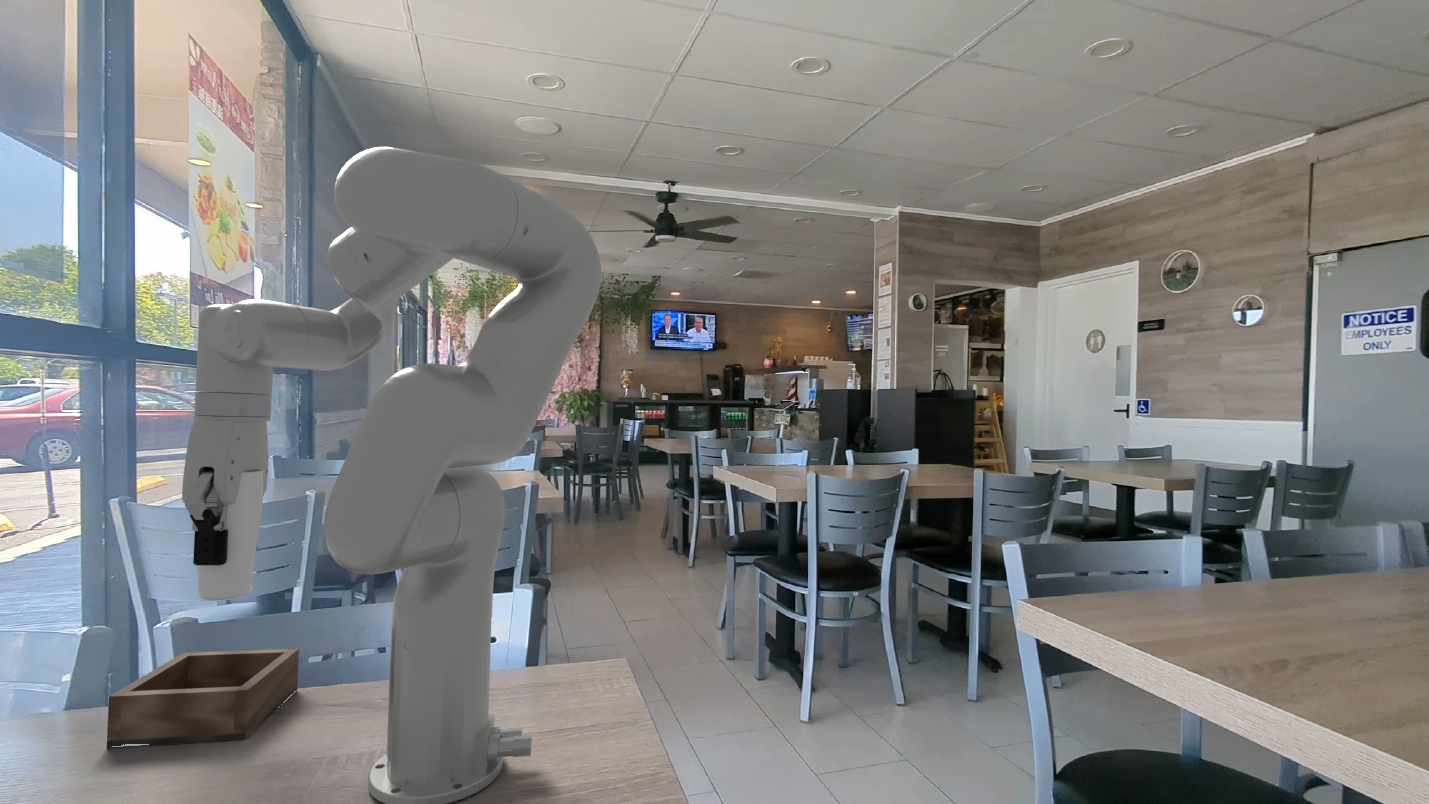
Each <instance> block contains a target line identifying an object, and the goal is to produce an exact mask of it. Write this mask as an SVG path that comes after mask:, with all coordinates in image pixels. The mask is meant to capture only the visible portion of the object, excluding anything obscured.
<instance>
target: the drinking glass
mask: <svg viewBox="0 0 1429 804" xmlns="http://www.w3.org/2000/svg"><path fill="white" fill-rule="evenodd" d="M263 488H264V481H263V470H261V469H260V471H255V472H244V473H242V474H241V480H240V485H239V489H238V494H237V498H236V502H235V503H233V504H231V505H228V508H227V519H226V522H225V526H224V529H223V530H228V544H227V562H226V563H225V564H223V565H196V568H197V571H196V572H197V596H198V598H200V599H202V600H205V601H227V600H231V599H232V600H233V599H238V598H241V597H244V596H247V595H248V594H249V593H251V591H252V589H253V587H254V585H253V584H254V583H253V582H254V569H255V562H256V555H257V550H256V548H257V549H258V542H257V541H258V540H259V533H260V526H261V521H262V520H261V517H262V512H263V504H264V496H263ZM219 499H220V493H217V491H216V489H215V486H214V487H213V488H212V490H211V492H210V494H209V495H208V497H207V499H206V502H221V501H219ZM208 509H211V510H212V511H213V513H214V515H215V516H217V512H218V509H217V508H208Z"/></svg>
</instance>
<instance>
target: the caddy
mask: <svg viewBox="0 0 1429 804" xmlns="http://www.w3.org/2000/svg"><path fill="white" fill-rule="evenodd" d="M299 654H300V648H280V649H279V648H278V649H276V648H275V649H253V650H251V649H250V650H226V651H223V650H221V651H198V652H195V651H194V652H193V651H192V652H181V654H179V655H177V656H175V657H174V658H172V659H170V660H168V661H167V662H165V663H163V664H162V665H160V666H157V668H155V669H153V670H151V671H150V672H148V673H146V674H145V675H143V676H142V677H140V678H138V679H136V680H135V681H133V682H131V683H130V684H128V685H125V687H122V688H121V689H119V690H118V691H116V692H114V693H112V694H110V695H109V696H108V705H107V706H108V709H107V732H106V733H107V734H106V749H109V748H108V747H112V746H121V745H123V744H124V745H125V744H149V745H155V746H167V745H168V746H169V745H170V746H171V745H185V744H188V745H189V744H203V743H218V742H221V743H222V742H223V743H224V742H236V741H237V742H238V741H247V739H249V738H250V737H251V736H252V734H254V733H255V732H256V731H257V730H258V729H259V728H260V727H261V726H262V725H264V724H265V722H266V721H267V720H269V719H270V718H271V717H272V716H273V715H272V714H273V713H274V712H275V711H276V710H277V709H278V707H279V706H281V704H283V702H284V701H285V700H286V699H287V698H288V697H289V696H290V695H291V694H293V693H294V691H296V690H297V691H298V687H299V684H298V683H299V662H300V661H299V660H300V659H299V657H300V656H299ZM283 705H284V704H283ZM281 707H282V706H281ZM278 710H279V709H278ZM278 710H277V711H278ZM277 711H276V712H277ZM276 712H275V713H276ZM275 713H274V714H275ZM271 715H272V716H271ZM270 716H271V717H270Z"/></svg>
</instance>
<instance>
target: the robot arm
mask: <svg viewBox="0 0 1429 804" xmlns="http://www.w3.org/2000/svg"><path fill="white" fill-rule="evenodd" d="M333 192H334V193H333V198H334V199H333V200H334V205H335V208H336V211H337V213H338V215H339V216H340V218H341V219H342V221H343V222H344V223H345V224H346V225H347V226H349V228H348V229H346V230H345V231H344V232H343V233H342V234H340V235H339V236H338V237H336V238H335V239H334V240H333V241H332V242H331V243H330V245H329V248H328V250H327V255H326V257H327V264H328V268H329V270H330V273H331V274H332V276H333V278H334V280H335V281H336V283H337V284H338V285H339V286H340V288H341V289H342V290H343V291H344V292H345V293H346V294H347V295H348V296H349V297H350V298H349V299H348V300H346V301H345V302H344V303H342V304H341V305H340V306H338V307H336V308H334V309H333V310H327V309H326V310H325V309H322V308H315V307H309V306H303V305H298V304H292V303H284V302H281V301H280V302H279V301H273V300H267V299H266V300H265V299H259V298H257V299H256V298H255V299H251V298H250V299H245V300H240V301H239V302H236V303H234V304H228V303H227V304H226V303H225V304H221V303H220V304H217V303H215V304H210V305H207V306H205V307H203V309H202V310H201V311H200V313H199V316H198V330H197V331H198V332H197V333H198V334H197V351H196V352H197V353H196V355H197V356H196V369H195V370H196V373H195V377H196V378H195V392H194V407H193V409H194V410H193V411H194V413H193V414H194V415H193V421H192V425H191V428H190V432H189V437H188V441H187V446H186V453H185V461H184V467H183V476H182V477H183V479H182V488H181V500H182V502H183V504H184V507H185V508H186V510H187V511H188V513H189V517H190V519H191V521H192V524H191V528H192V531H194V539H193V541H194V542H193V558H192V559H193V560H192V563H193V565H194V566H197V565H223V564H225V563H226V562H227V544H228V530H223V529H224V526H225V522H226V519H227V508H228V505H231V504H233V503H235V502H236V498H237V494H238V489H239V485H240V480H241V474H242V473H244V472H255V471H260V469H261V470H263V481H264V488H263V497H264V495H265V493H266V492H267V487H268V477H269V476H268V474H269V445H268V444H269V440H268V427H267V422H271V420H272V418H271V416H272V394H273V378H274V377H273V375H274V368H281V369H282V368H286V369H287V368H288V369H299V370H301V369H302V370H311V371H312V370H313V371H334V370H335V371H336V370H339V369H342V368H345V367H347V366H351V365H352V364H353V363H355V362H357V361H358V360H360V359H362V358H363V357H364V356H365V355H368V353H370V352H371V351H373V350H374V349H376V348H377V347H378V346H379V345H380V344H381V343H382V342H383V341H384V340H385V339H386V337H387V336H388V334H389V332H390V329H391V327H392V324H393V322H394V318H395V316H396V310H397V309H396V301H398V299H400V298H401V297H402V296H404V295H405V294H407V293H408V292H409V291H411V290H412V289H413V288H415V286H417V285H419V284H420V283H422V282H423V281H424V280H425V279H427V278H429V277H431V275H433V274H434V273H435V272H438V271H439V270H440V269H442V268H443V267H445V265H447V264H448V263H449V262H451V261H453V259H455V260H458V261H462V262H464V263H468V264H471V265H474V266H478V267H481V268H484V269H487V270H491V271H493V272H496V273H499V274H503V275H507V276H511V277H513V278H514V279H516V281H517V282H518V284H517V287H516V288H515V289H514V290H513V291H512V292H510V293H509V294H508V295H507V296H506V297H504V298H503V299H502V300H501V301H500V302H499V303H498V304H497V305H496V306H495V307H494V308H493V309H492V311H491V312H490V313H489V314H488V316H487V317H486V319H485V320H484V322H483V324H482V326H481V328H480V331H479V332H478V335H477V338H476V340H475V342H474V344H473V346H472V347H471V350H470V351H469V353H468V355H467V356H466V357H465V359H464V361H462V362H461V363H460V364H458V365H454V364H445V363H444V364H443V363H432V362H431V363H430V362H429V363H420V364H419V363H417V364H414V365H409V366H407V367H405V368H402V369H400V370H399V371H396V373H394V374H393V375H391V376H389V378H388V379H387V380H386V381H385V382H384V383H383V384H382V385H381V386H380V387H378V388H379V389H378V390H377V391H376V392H375V393H374V395H373V397H372V399H371V401H370V402H369V405H368V406H367V409H366V411H365V413H364V415H363V418H362V420H361V422H360V425H359V428H358V429H357V431H356V434H355V436H354V438H353V440H352V443H351V445H350V448H349V450H348V452H347V454H346V457H345V459H344V462H343V464H342V466H341V469H340V470H339V473H338V475H337V478H336V480H335V482H334V485H333V487H332V489H331V492H330V495H329V498H328V501H327V504H326V505H327V506H326V508H325V514H324V522H323V533H324V540H325V544H326V547H327V550H328V552H329V554H330V555H331V557H332V558H333V560H334V561H335V562H336V563H337V564H338V565H339V566H340V567H342V568H344V569H346V570H348V571H349V572H352V573H357V574H360V575H379V574H385V573H389V572H394V571H399V570H402V569H403V570H402V572H401V575H400V577H399V580H398V583H397V585H396V588H395V593H394V597H393V602H392V610H391V611H392V612H391V624H390V625H391V627H390V628H391V629H390V651H389V652H390V656H389V679H388V680H389V683H388V684H389V686H388V707H387V709H388V710H387V711H388V712H387V713H388V714H387V736H386V738H387V741H386V753H385V754H384V755H383V756H382V757H380V758H379V759H378V760H377V761H376V762H375V763H374V764H373V765H371V766H372V767H371V768H370V771H369V773H368V781H367V784H368V785H367V786H368V791H369V793H370V794H371V796H372V797H373V799H376V800H377V801H378V802H381V803H382V804H450V803H451V804H452V803H455V802H456V801H460V800H464V799H466V798H468V797H470V796H473V795H475V794H477V793H478V792H480V791H481V790H483V789H485V788H486V787H488V785H490V784H491V783H492V782H494V780H495V779H496V778H498V776H499V775H500V773H501V770H502V768H503V763H504V761H503V758H506V757H508V758H509V757H512V758H519V757H520V758H521V757H523V758H524V757H531V756H532V750H533V749H532V748H533V747H532V745H533V735H532V734H531V735H523V727H514V728H512V727H511V728H507V729H501V728H500V726H495V716H496V715H495V714H494V713H493V714H492V713H491V714H489V707H490V675H491V674H490V672H491V645H492V642H491V641H492V640H491V639H492V619H493V618H492V617H493V600H494V599H493V598H494V582H495V570H496V564H497V558H498V557H497V556H498V552H499V549H500V544H501V539H502V534H503V529H504V525H505V516H506V501H505V498H504V496H505V495H504V493H503V491H502V488H501V486H500V484H499V482H498V480H497V479H496V478H495V477H494V476H493V475H492V474H491V473H490V472H489V471H487V470H486V469H484V468H482V467H480V466H487V465H493V464H497V463H498V464H499V463H504V462H507V461H508V460H510V459H512V458H514V457H515V456H517V455H518V454H519V452H520V451H522V450H523V448H524V447H525V445H526V443H527V441H528V440H529V438H530V435H531V434H532V432H533V430H534V428H535V426H536V424H537V421H538V419H539V417H540V415H541V413H542V411H543V409H544V407H545V405H546V403H547V400H548V399H549V396H550V394H551V392H552V390H553V387H554V386H555V383H556V381H557V379H558V377H559V375H560V372H561V371H562V368H563V365H564V364H565V361H566V359H567V357H568V355H569V353H570V352H571V349H572V347H573V345H574V343H575V342H576V340H577V338H578V336H579V335H580V333H581V331H582V329H583V327H584V326H585V324H586V322H587V321H588V320H589V316H590V315H591V313H592V310H593V309H594V306H595V304H596V301H597V299H598V295H599V292H600V287H601V282H602V281H601V280H602V266H601V265H602V264H601V257H600V253H599V251H598V247H597V245H596V242H595V240H594V238H593V236H592V235H591V233H590V232H589V230H588V229H587V228H586V227H585V225H583V223H582V222H581V221H580V220H579V219H578V218H577V216H575V215H573V214H572V213H571V212H570V211H569V210H567V209H566V208H564V207H563V206H561V205H559V204H558V203H556V202H554V201H553V200H551V199H549V198H548V197H547V196H544V195H542V194H540V193H538V192H537V191H535V190H532V189H531V188H528V187H526V186H524V185H522V184H520V183H518V182H516V181H514V180H512V179H510V178H509V177H507V176H505V175H503V174H501V172H500V173H499V172H498V171H495V170H493V169H491V168H490V167H487V166H484V165H482V164H479V163H476V162H473V161H469V160H467V159H466V160H465V159H462V158H457V157H450V156H445V155H439V154H431V153H425V152H419V151H414V150H410V149H404V148H403V149H402V148H398V147H391V146H377V147H372V148H369V149H365V150H363V151H360V152H359V153H357V154H356V155H354V156H353V157H352V158H350V159H349V160H348V161H347V162H346V163H345V164H344V166H343V167H342V168H341V169H340V171H339V173H338V175H337V177H336V182H335V185H334V191H333ZM520 453H521V452H520ZM214 486H215V489H216V491H217V493H220V499H219V501H221V502H206V499H207V497H208V495H209V494H210V492H211V490H212V488H213V487H214ZM208 508H217V509H218V512H217V516H215V515H214V513H213V511H212V510H211V509H208ZM257 543H258V541H257ZM257 550H258V547H257V548H256V551H257Z"/></svg>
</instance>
